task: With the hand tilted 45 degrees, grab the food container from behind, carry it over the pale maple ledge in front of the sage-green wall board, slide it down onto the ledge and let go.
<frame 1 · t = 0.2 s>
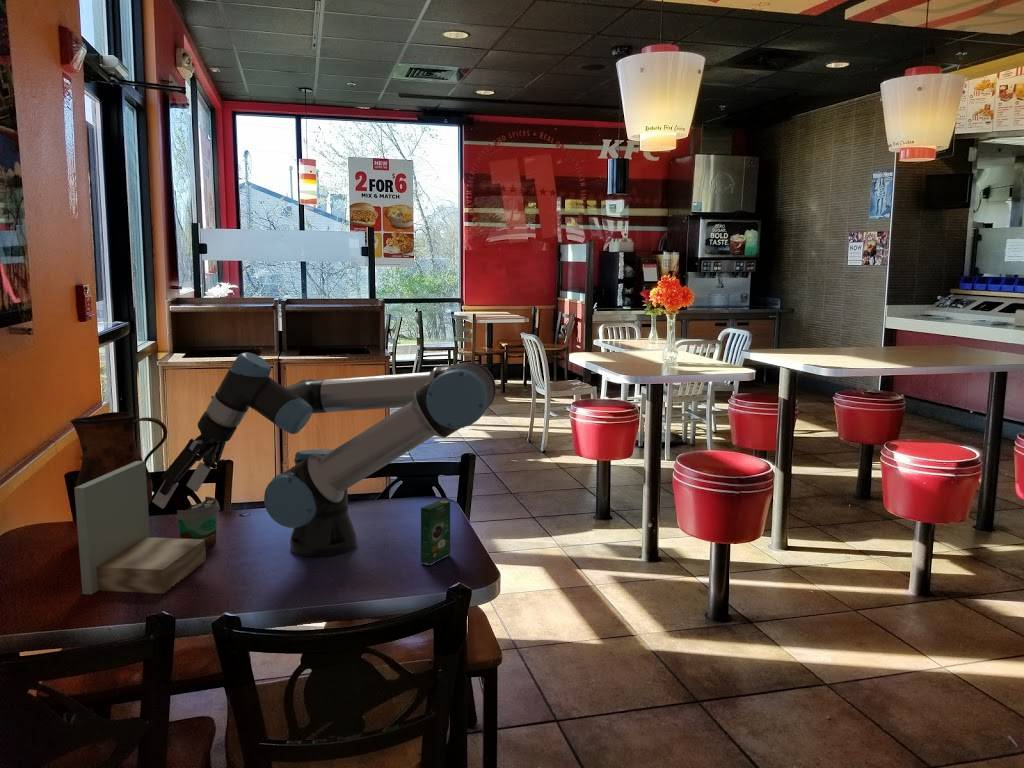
hand: (175, 496, 176), 15 cm above the table, tool tilted 35°, fingers open, 13 cm apart
food container: (205, 545, 189), on the table
coffee box: (436, 560, 179), on the table
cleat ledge: (163, 575, 170), on the table
pitcher: (127, 536, 195), on the table
wall board: (115, 524, 169), on the table
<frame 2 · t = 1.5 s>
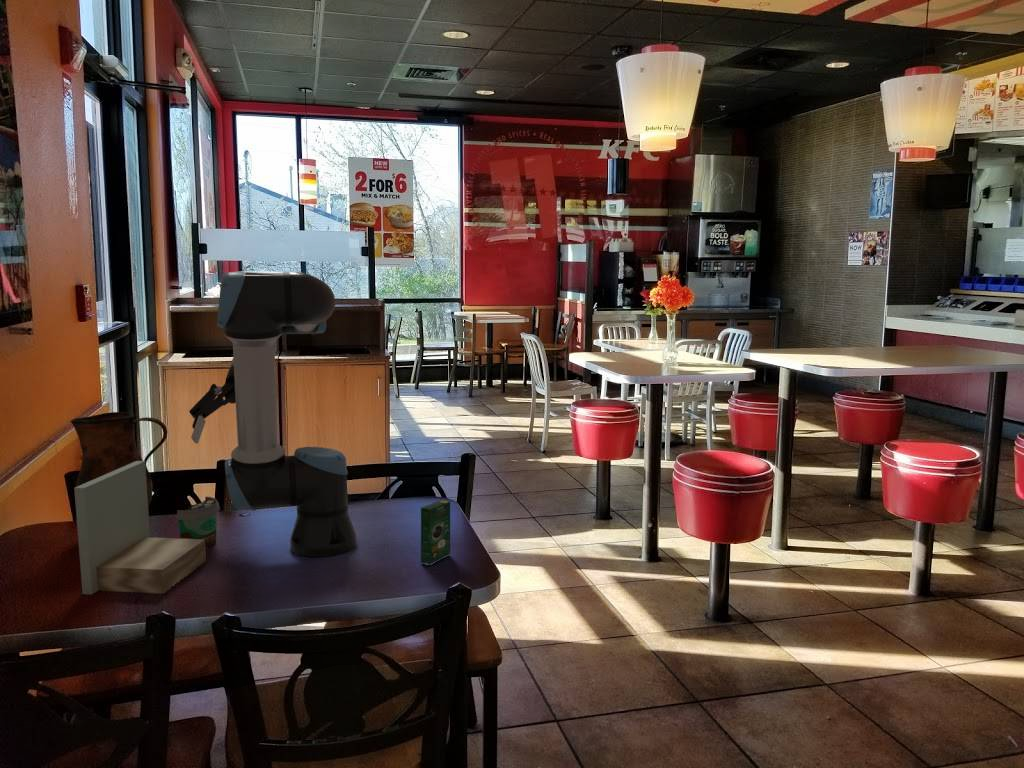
hand: (221, 441, 196), 23 cm above the table, tool tilted 45°, fingers open, 13 cm apart
nothing on the table moved.
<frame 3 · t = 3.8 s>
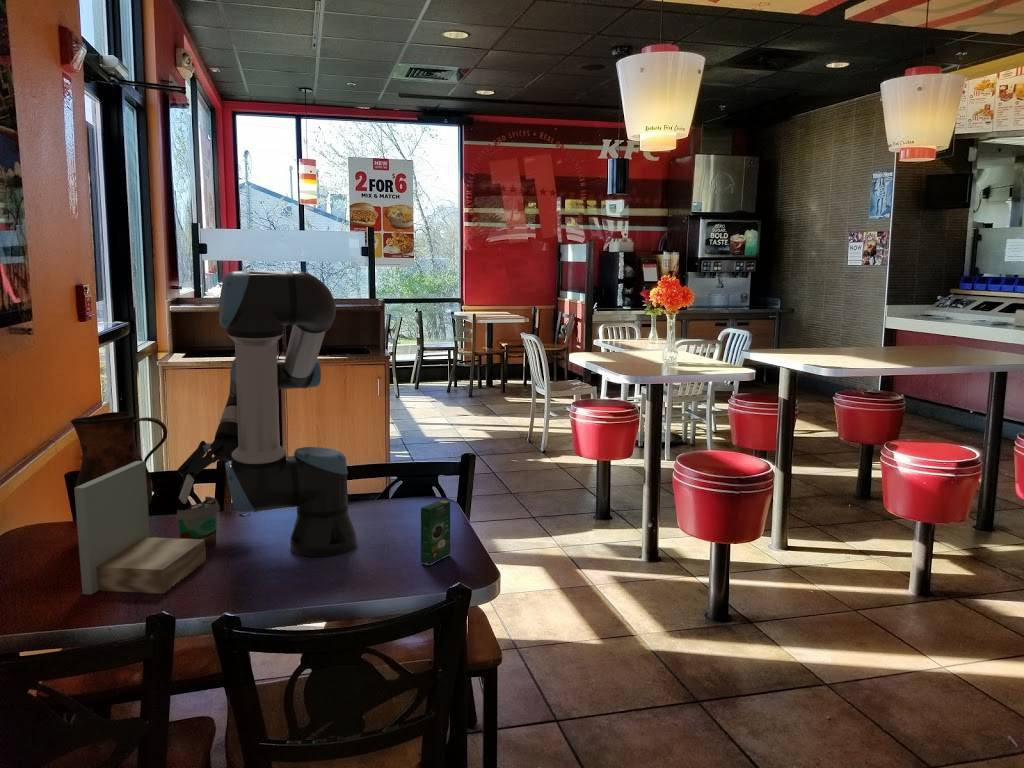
hand: (209, 502, 192), 9 cm above the table, tool tilted 45°, fingers open, 13 cm apart
nothing on the table moved.
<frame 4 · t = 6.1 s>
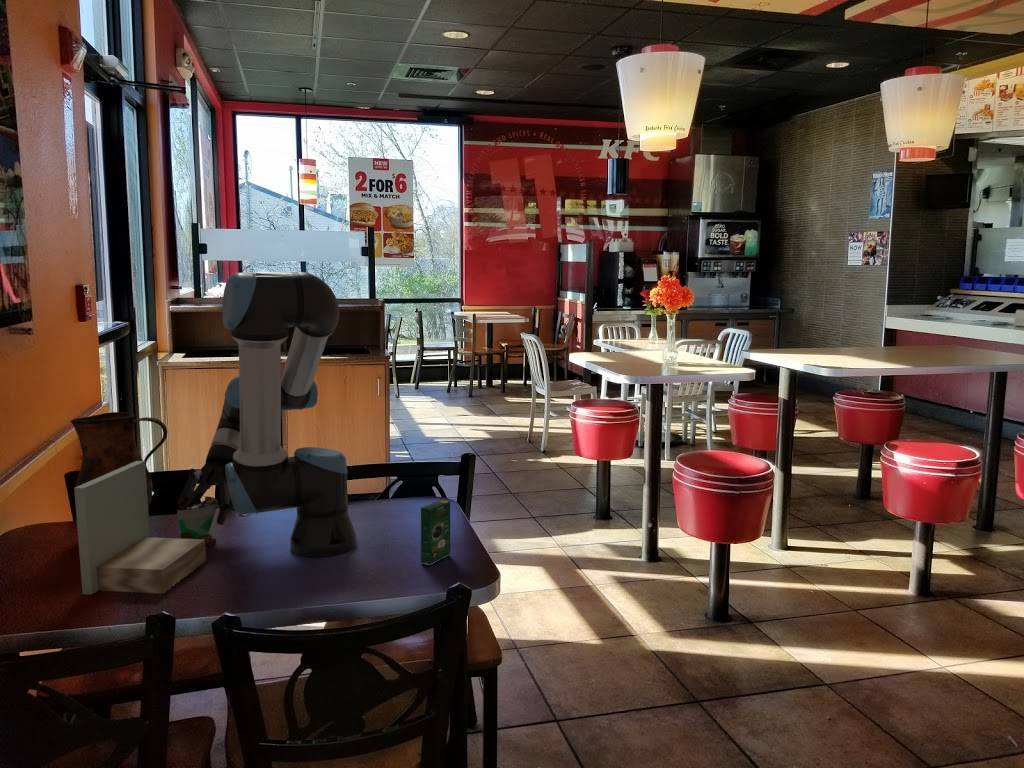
hand: (197, 535, 185), 3 cm above the table, tool tilted 45°, fingers closed on food container, 6 cm apart
food container: (205, 545, 189), on the table, touching gripper
everything else where it was.
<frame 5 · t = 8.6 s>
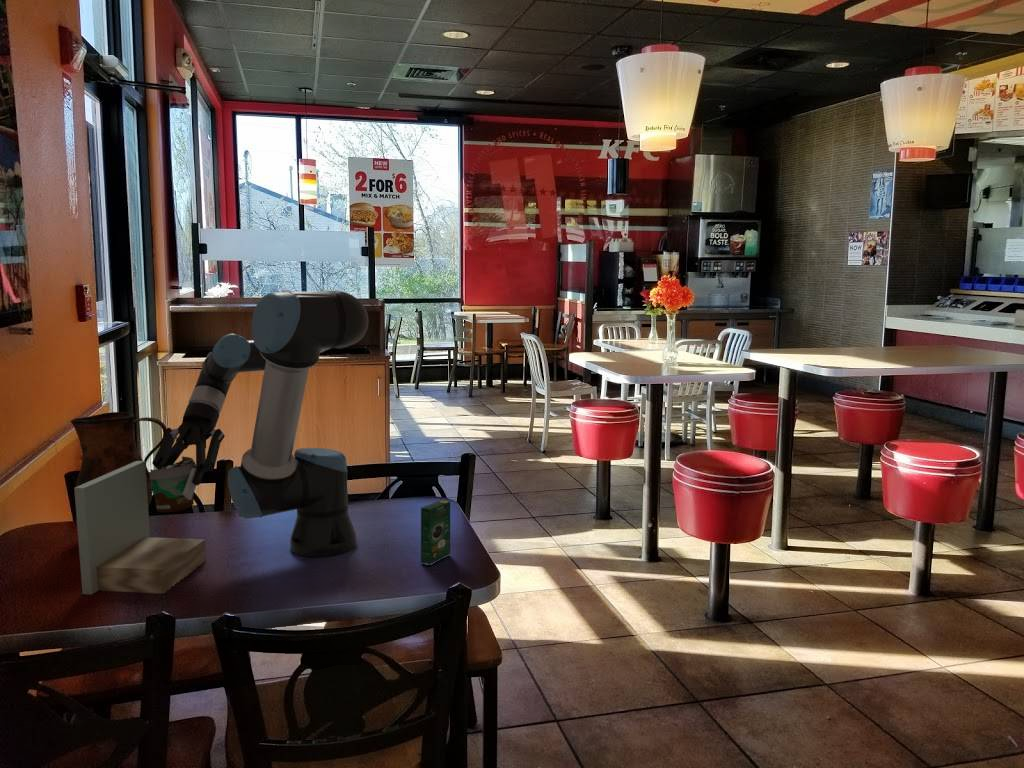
hand: (171, 496, 176), 15 cm above the table, tool tilted 45°, fingers closed on food container, 6 cm apart
food container: (182, 507, 180), point 11 cm above the table, touching gripper
everything else where it was.
when the fingers open (10 cm above the table, at t = 11.1 s): food container drops 1 cm, resting on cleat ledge.
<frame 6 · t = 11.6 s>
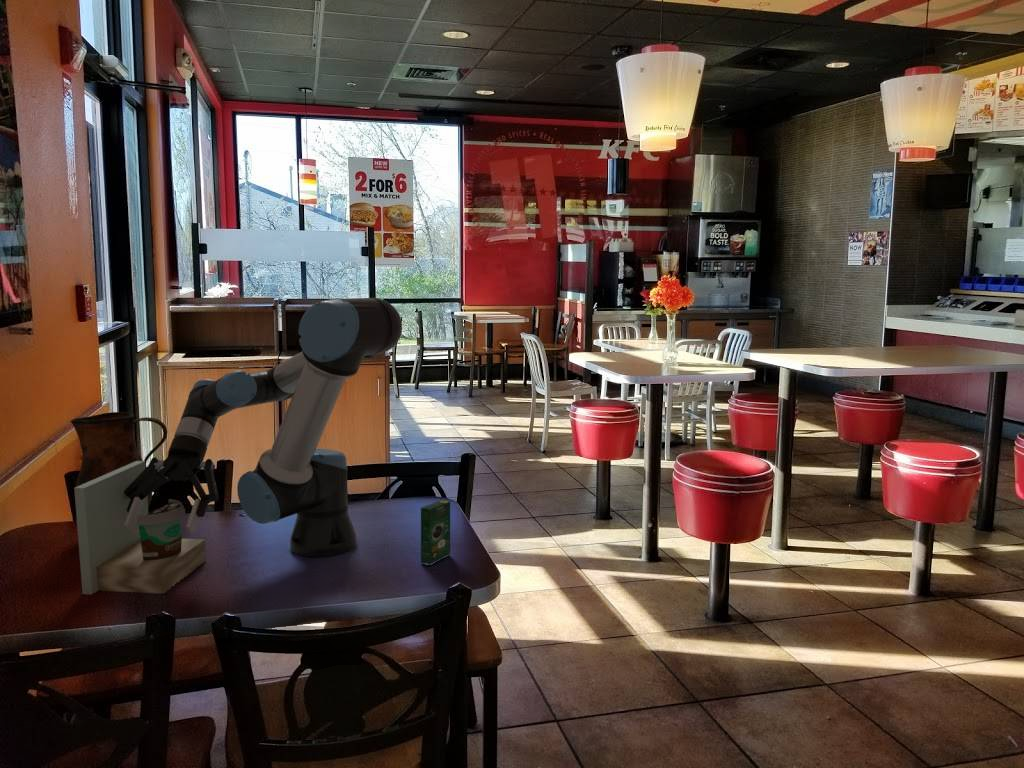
hand: (159, 529, 166), 11 cm above the table, tool tilted 45°, fingers open, 13 cm apart
food container: (169, 553, 169), point 5 cm above the table, touching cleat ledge
everything else where it was.
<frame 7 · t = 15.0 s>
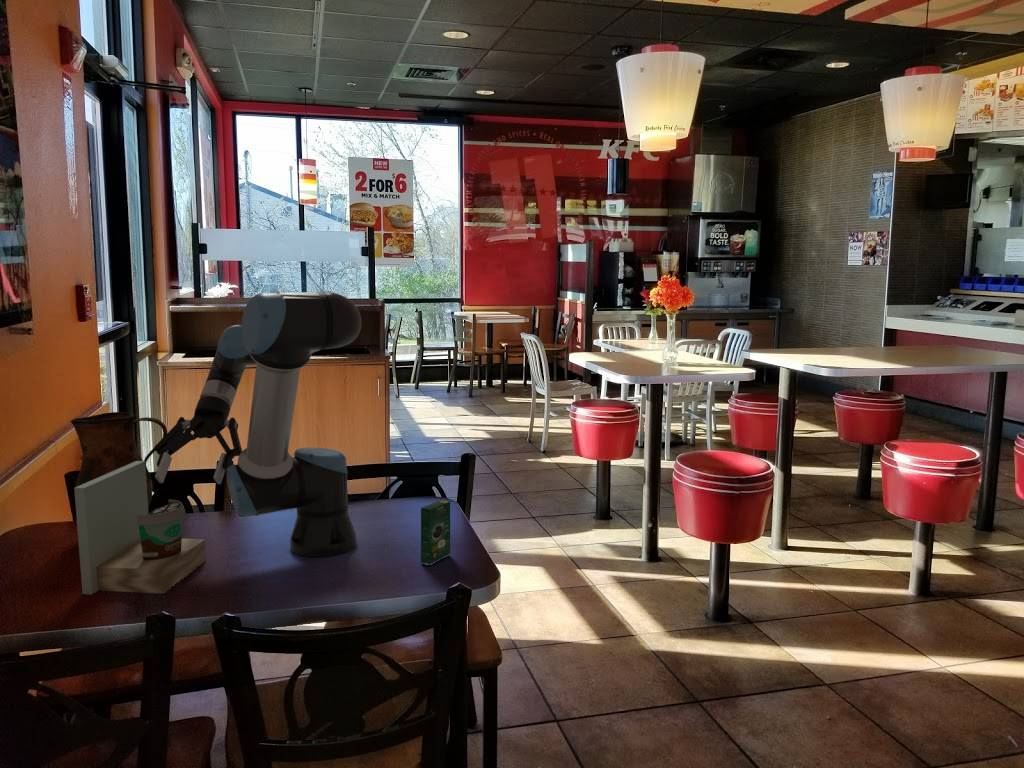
hand: (187, 480, 178), 18 cm above the table, tool tilted 45°, fingers open, 13 cm apart
nothing on the table moved.
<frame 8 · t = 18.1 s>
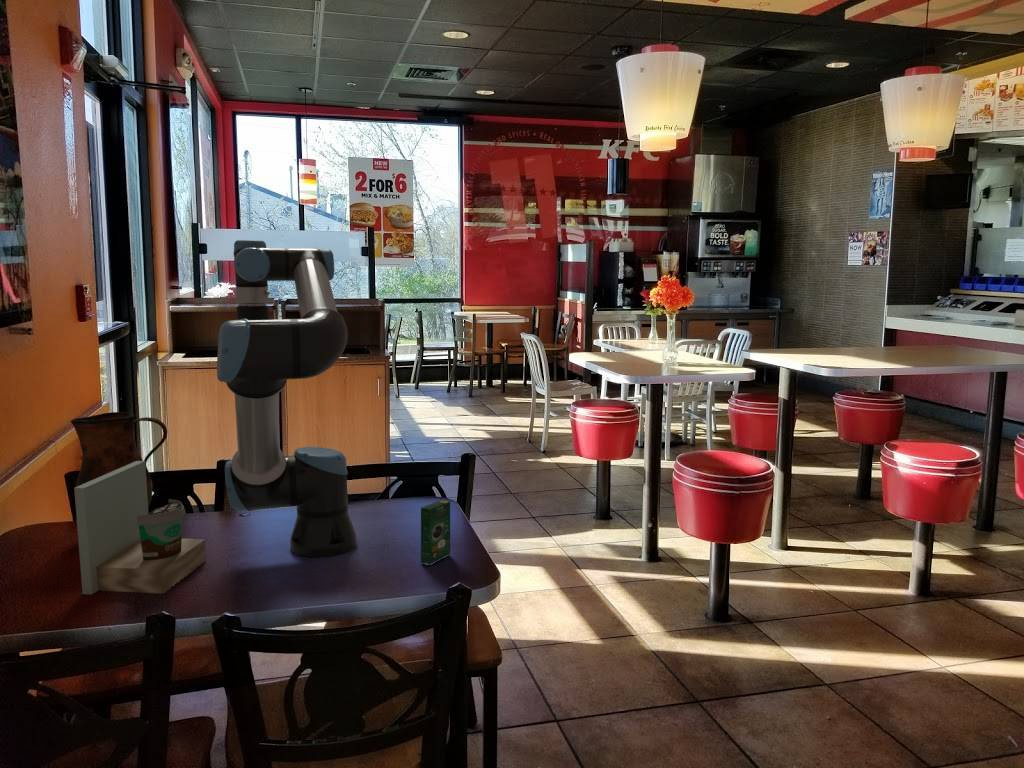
hand: (256, 391, 197), 35 cm above the table, tool pointing down, fingers open, 13 cm apart
nothing on the table moved.
at the end: food container inside the target area (2.1 cm from its centre), point 4.8 cm above the table; food container tilted 0°; the gripper is holding nothing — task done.
